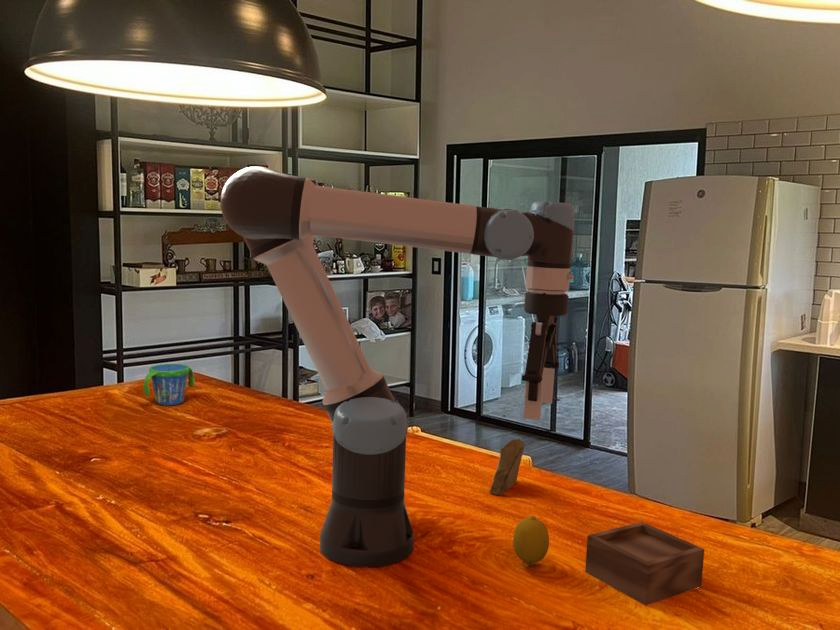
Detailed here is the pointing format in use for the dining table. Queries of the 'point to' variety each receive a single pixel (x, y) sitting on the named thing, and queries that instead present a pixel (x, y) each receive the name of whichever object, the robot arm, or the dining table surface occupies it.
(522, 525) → the lemon
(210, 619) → the dining table surface
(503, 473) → the rock
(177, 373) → the snack cup
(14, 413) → the dining table surface
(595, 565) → the walnut block
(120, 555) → the dining table surface
